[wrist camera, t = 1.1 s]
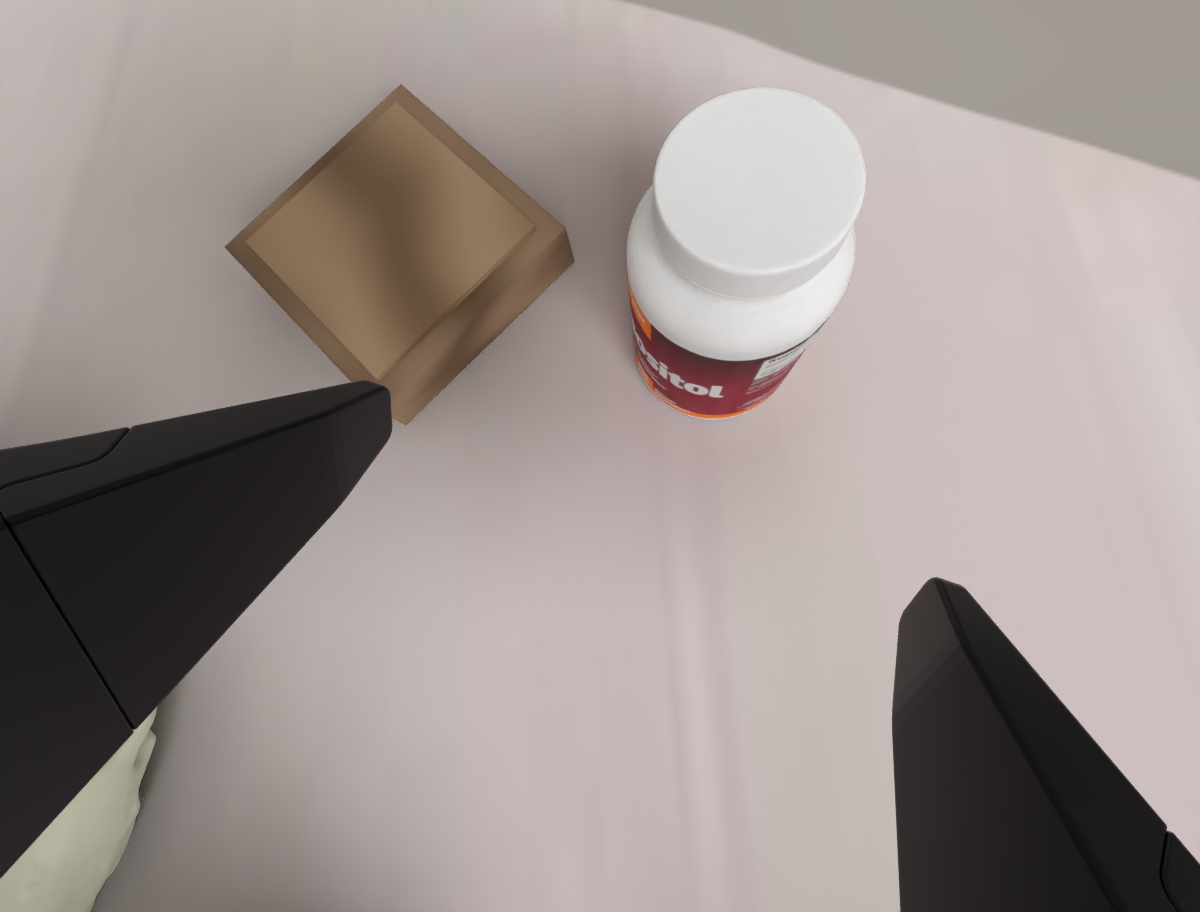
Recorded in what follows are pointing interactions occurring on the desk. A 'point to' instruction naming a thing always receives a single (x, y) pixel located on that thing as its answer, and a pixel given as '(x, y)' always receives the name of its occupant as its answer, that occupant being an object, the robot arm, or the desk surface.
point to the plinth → (403, 252)
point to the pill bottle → (741, 247)
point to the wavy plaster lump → (82, 837)
